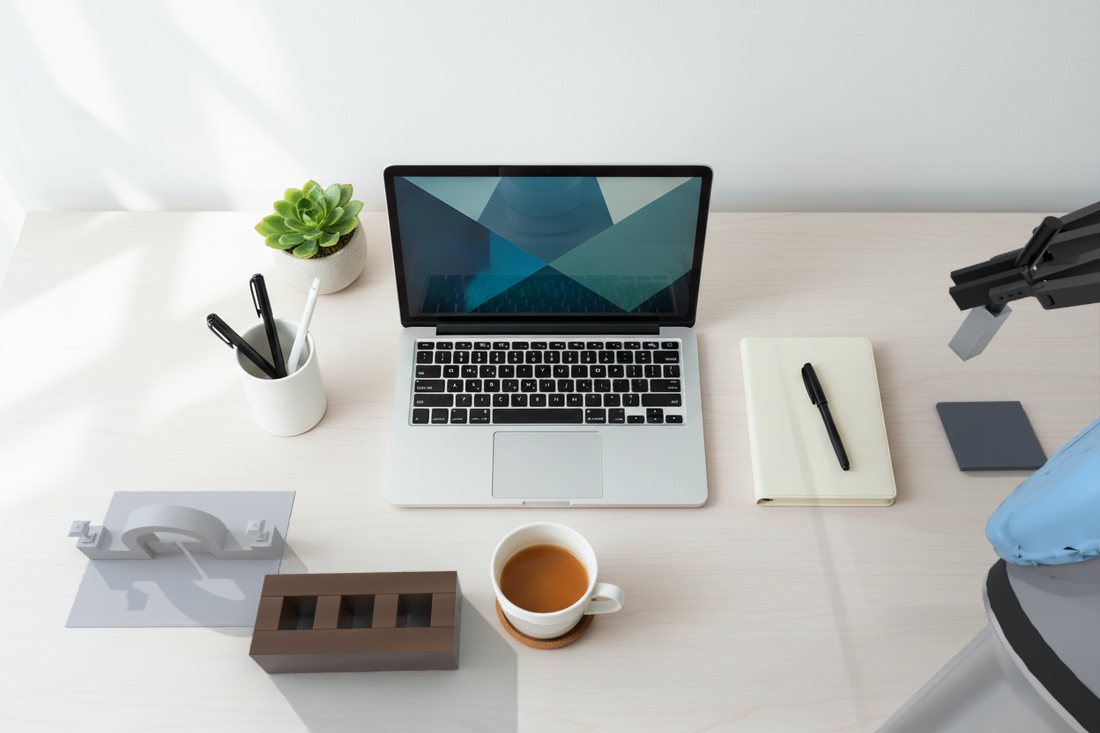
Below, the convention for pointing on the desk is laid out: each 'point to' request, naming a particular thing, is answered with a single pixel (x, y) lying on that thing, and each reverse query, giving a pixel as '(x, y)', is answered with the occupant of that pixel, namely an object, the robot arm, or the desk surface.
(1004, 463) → the felt mat
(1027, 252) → the rod topped stamp
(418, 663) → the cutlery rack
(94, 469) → the desk surface
